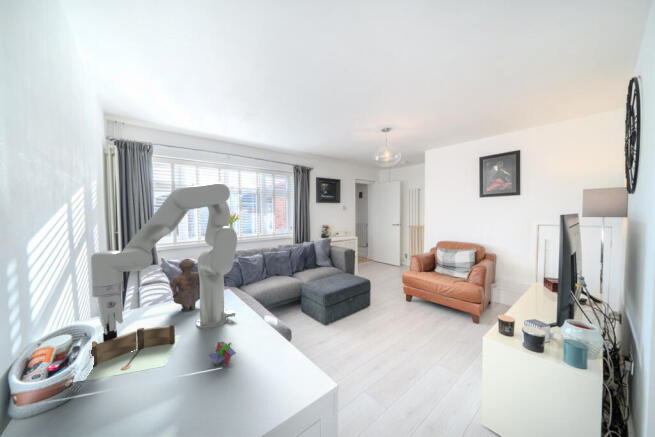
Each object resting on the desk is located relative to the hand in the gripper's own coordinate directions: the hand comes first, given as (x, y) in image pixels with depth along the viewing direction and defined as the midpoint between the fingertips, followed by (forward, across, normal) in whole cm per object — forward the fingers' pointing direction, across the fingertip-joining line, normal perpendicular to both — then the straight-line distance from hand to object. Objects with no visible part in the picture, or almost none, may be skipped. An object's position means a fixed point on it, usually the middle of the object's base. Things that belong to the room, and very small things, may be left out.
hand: (110, 343), depth 78 cm
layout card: (+5, -5, -5) cm, 9 cm away
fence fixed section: (+4, -4, -12) cm, 13 cm away
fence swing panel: (+4, -2, -1) cm, 5 cm away
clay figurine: (+5, +23, -31) cm, 39 cm away
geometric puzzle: (+5, -31, -23) cm, 39 cm away
